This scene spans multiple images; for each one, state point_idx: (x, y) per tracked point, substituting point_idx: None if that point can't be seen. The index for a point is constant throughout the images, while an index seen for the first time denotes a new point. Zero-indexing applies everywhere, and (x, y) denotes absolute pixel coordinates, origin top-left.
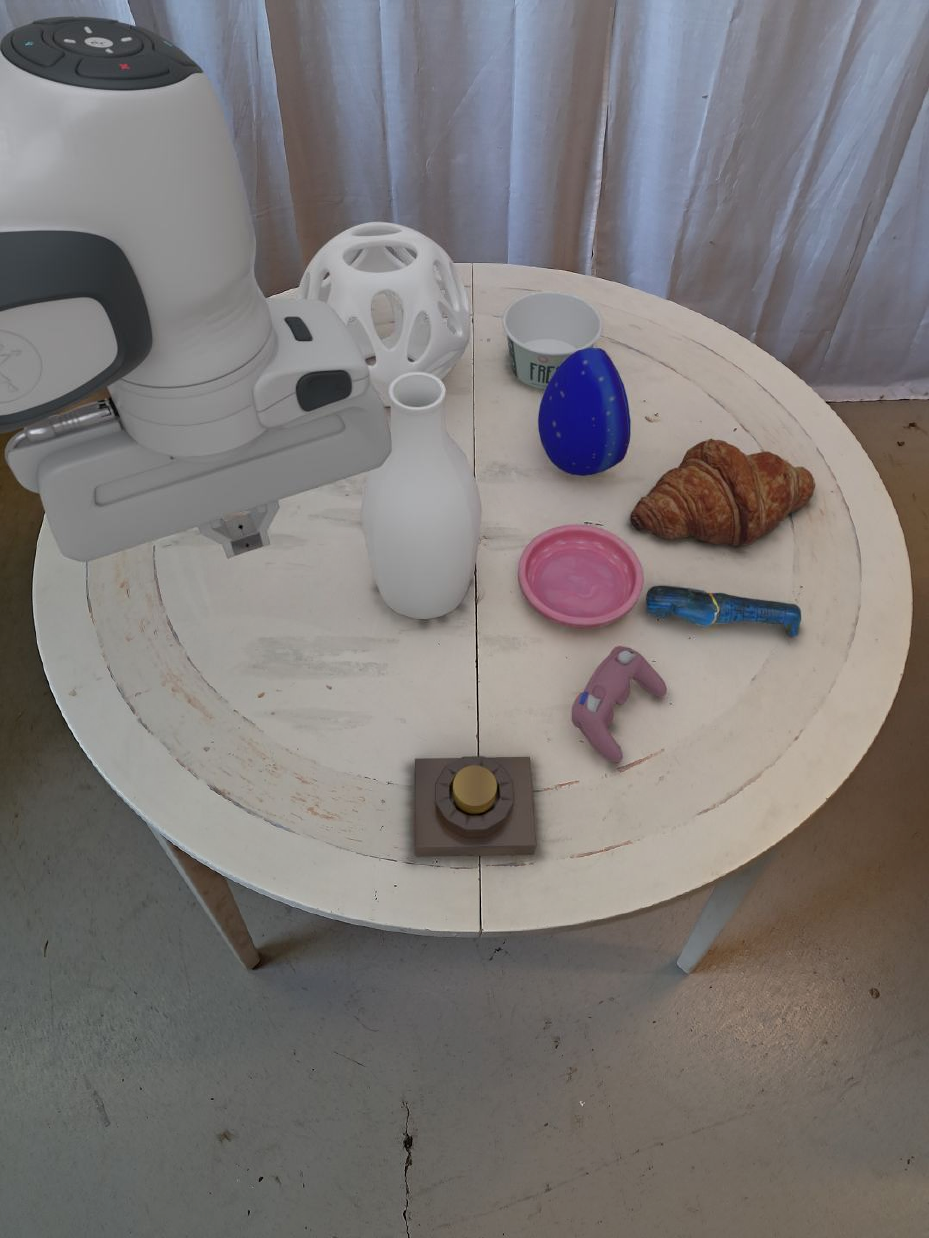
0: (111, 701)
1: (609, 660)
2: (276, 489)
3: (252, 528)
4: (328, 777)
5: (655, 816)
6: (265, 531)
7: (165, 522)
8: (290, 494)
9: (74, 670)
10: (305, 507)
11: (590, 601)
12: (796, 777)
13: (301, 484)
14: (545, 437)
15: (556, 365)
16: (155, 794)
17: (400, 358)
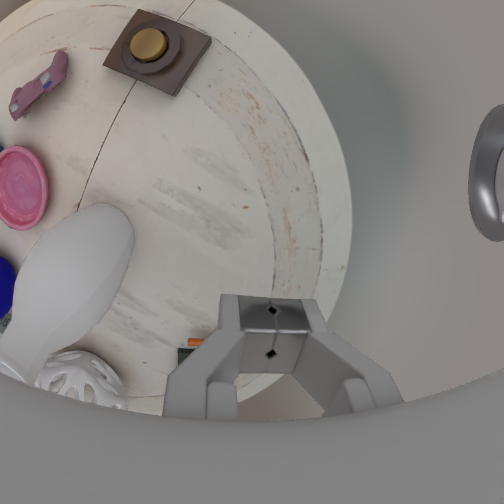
0: (329, 252)
1: (21, 106)
2: (152, 475)
3: (250, 342)
4: (234, 122)
5: (70, 16)
6: (225, 325)
7: (496, 418)
8: (109, 419)
9: (334, 281)
10: (158, 322)
11: (21, 169)
12: (8, 26)
13: (56, 436)
14: (8, 290)
15: (4, 327)
16: (339, 177)
17: (70, 379)
